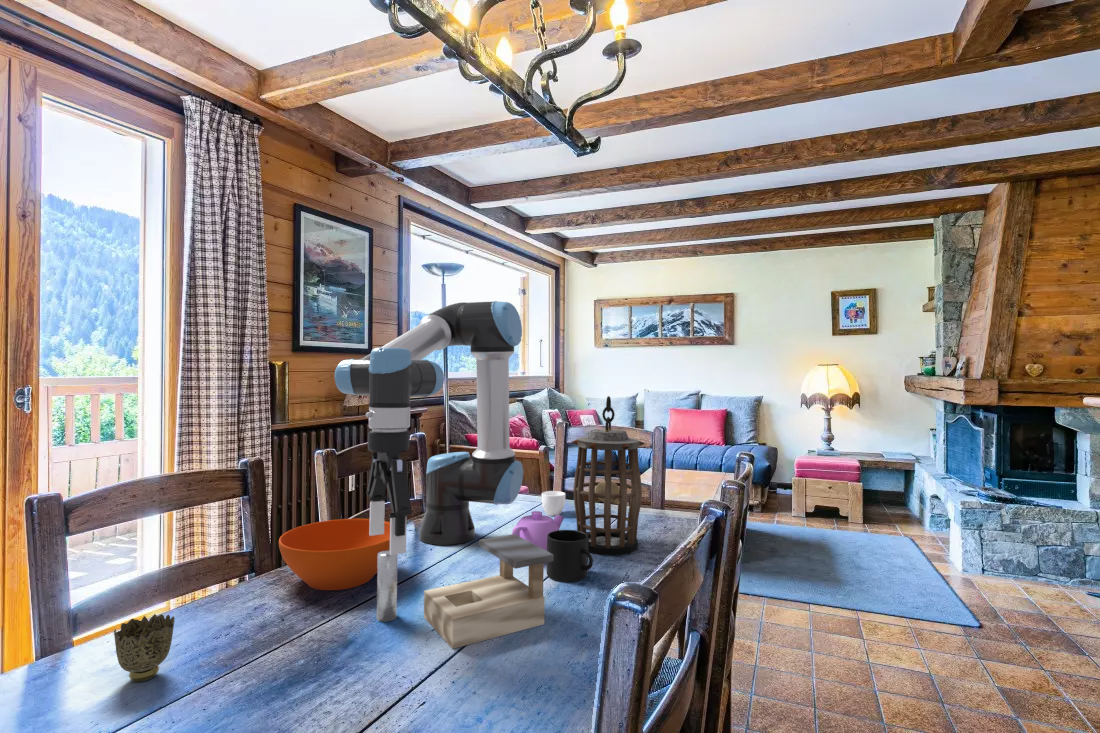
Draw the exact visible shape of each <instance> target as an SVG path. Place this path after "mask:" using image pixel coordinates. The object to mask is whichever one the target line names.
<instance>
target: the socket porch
mask: <svg viewBox="0 0 1100 733" xmlns="http://www.w3.org/2000/svg"><path fill="white" fill-rule="evenodd" d="M478 543H479V547H480V548H482V549H483V550H485V551H486V552H488V553H489V554H491V555H493V557H494V556H495V557H496V558H498V559H499V575H493V576H490V577H485V578H481V579H480V578H479V579H476V580H475V579H474V580H470V581H469V580H468V581H465V582H464V581H463V582H461V583H455V584H451V585H445V586H440V587H436V588H430V589H426V590H424V591H423V618H424V620H426V621H427V623H428V624H429V625H430V626H431V627H432V628H433V629H434V630H435V631H436V632H437V634H438V635H439V636H441V638H442V640H444V641H445V643H447V644H448V645H449V647H451V649H452V650H454V649H457V648H461V647H464V646H468V645H472V644H476V643H479V642H483V641H486V640H491V639H495V638H497V637H498V638H499V637H501V636H505V635H509V634H513V633H516V632H517V633H518V632H521V631H524V630H527V629H532V628H535V627H536V628H537V627H539V626H542V625H545V613H546V612H545V611H546V610H545V603H546V602H545V599H546V598H545V596H544V568H545V567H544V566H545V565H544V564H545V563H546V564H547V562H551V561H553V556H554V555H553V554H551V553H550V552H548V551H546V550H544V549H542V548H540V547H538V546H536V545H534V544H532V543H531V542H529V541H527V540H525V539H523V538H521V537H519V536H517V535H515V534H512V533H511V534H506V535H501V536H494V537H490V538H489V537H488V538H483V539H479V542H478ZM527 567H528V585H527V584H526V583H524V582H522V581H521V580H520V579H518V578H517V577H516V576H514V569H521V568H527Z"/></svg>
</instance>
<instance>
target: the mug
mask: <svg viewBox="0 0 1100 733" xmlns="http://www.w3.org/2000/svg"><path fill="white" fill-rule="evenodd" d="M547 551H548V552H550V553H551V554H553V555H554V556H553V561H551V562H546V575H547V577H548V578H550V579H551V580H554V581H557V582H563V583H572V582H573V583H575V582H580V581H583V580H585V579H587V577H588V575H589V570H591V568H592V567H593V564H594V558H593V556H592V553H590V552H589V551H588V535H587V534H586V533H584V532H581V531H577V529H576V530H575V529H559V530H557V531H553V532H550V533H549V534H548V535H547Z"/></svg>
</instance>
